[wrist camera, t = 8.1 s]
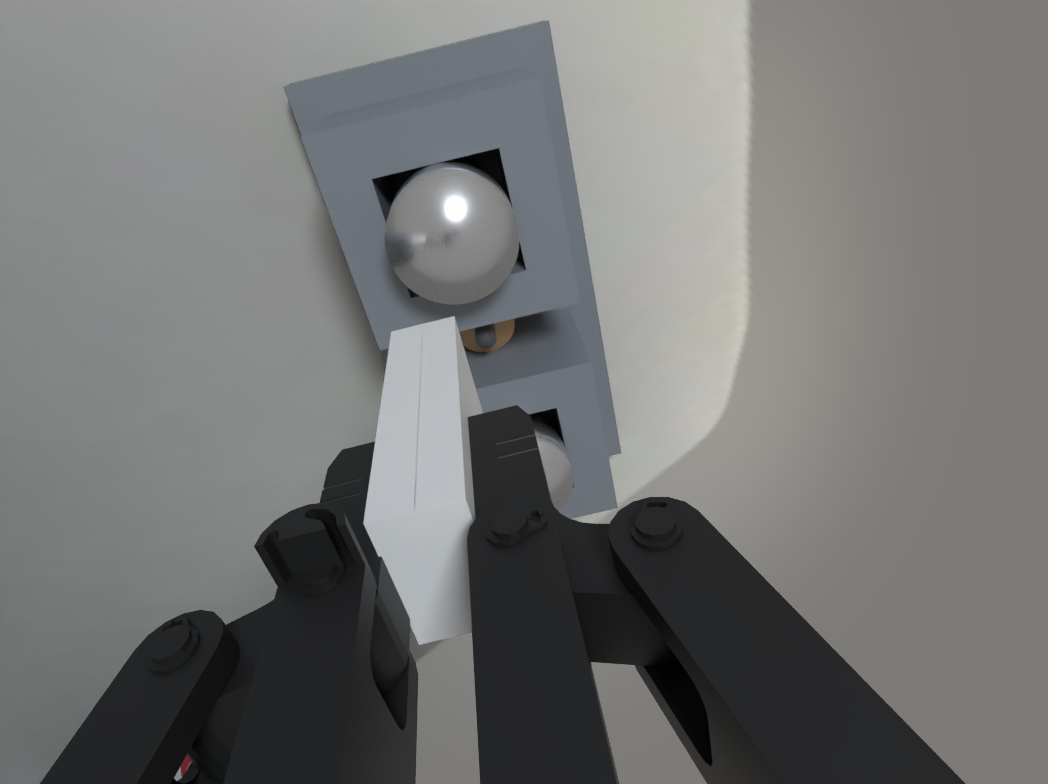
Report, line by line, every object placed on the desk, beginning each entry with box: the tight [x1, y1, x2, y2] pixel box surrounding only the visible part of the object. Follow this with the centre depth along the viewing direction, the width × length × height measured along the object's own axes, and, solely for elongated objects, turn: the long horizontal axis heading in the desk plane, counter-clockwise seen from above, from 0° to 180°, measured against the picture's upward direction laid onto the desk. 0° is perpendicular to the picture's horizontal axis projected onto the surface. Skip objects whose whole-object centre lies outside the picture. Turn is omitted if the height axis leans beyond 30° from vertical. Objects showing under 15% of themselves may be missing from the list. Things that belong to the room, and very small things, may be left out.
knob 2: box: [529, 411, 573, 511], centre depth 34 cm, size 5×5×8 cm
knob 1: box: [385, 156, 519, 305], centre depth 27 cm, size 5×5×8 cm
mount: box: [284, 21, 621, 519], centre depth 32 cm, size 12×24×8 cm, turn 12°
